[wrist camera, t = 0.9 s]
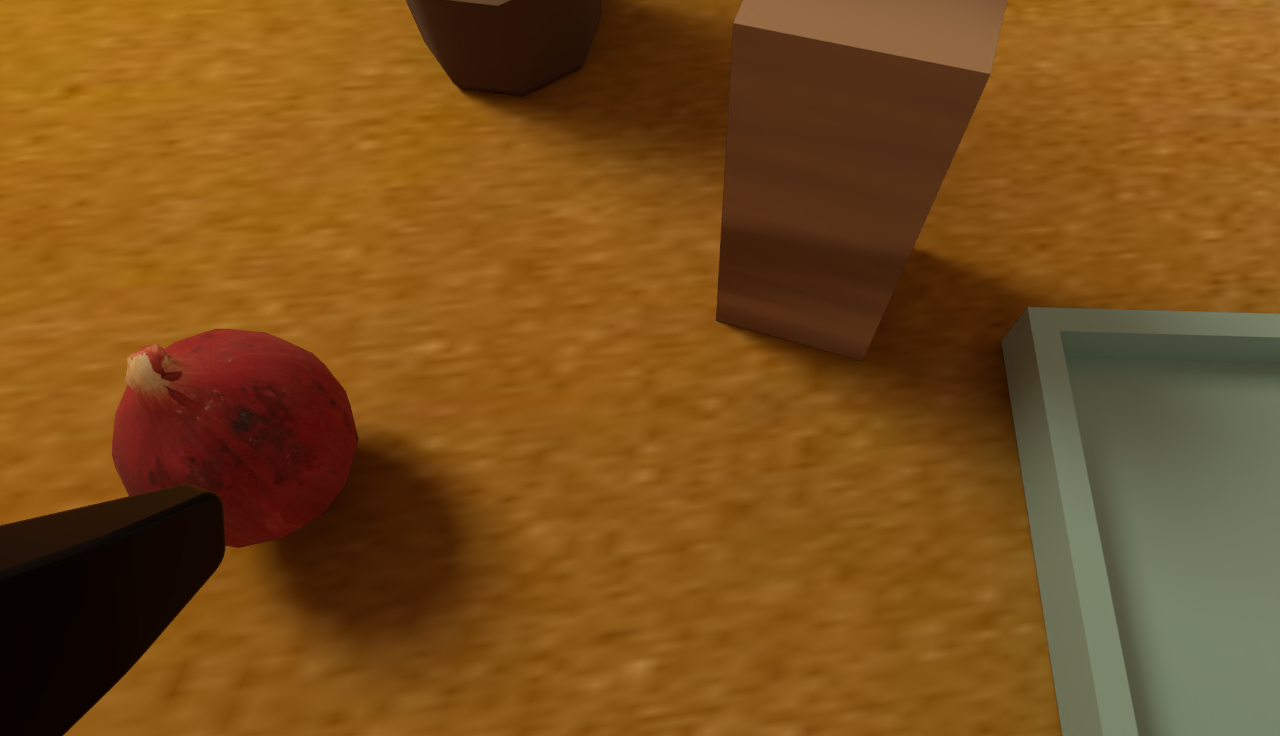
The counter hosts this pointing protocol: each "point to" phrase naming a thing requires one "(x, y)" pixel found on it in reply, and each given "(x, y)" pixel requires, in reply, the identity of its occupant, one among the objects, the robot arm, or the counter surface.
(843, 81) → the walnut block
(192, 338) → the onion
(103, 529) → the robot arm
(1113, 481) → the teal tray
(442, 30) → the beer bottle
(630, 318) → the counter surface
